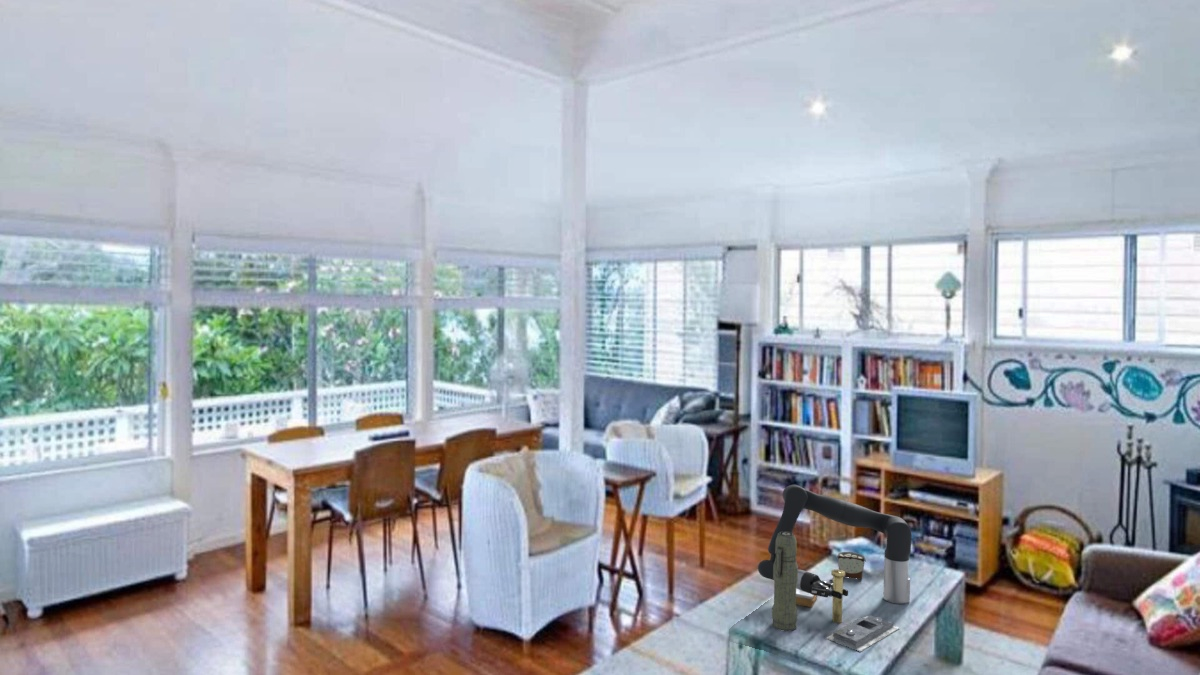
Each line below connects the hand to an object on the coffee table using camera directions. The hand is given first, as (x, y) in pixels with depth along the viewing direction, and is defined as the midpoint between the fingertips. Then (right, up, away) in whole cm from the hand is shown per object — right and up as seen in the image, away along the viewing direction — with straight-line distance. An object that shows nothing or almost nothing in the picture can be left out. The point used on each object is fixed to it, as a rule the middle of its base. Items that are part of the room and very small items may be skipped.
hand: (844, 594), depth 274 cm
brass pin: (-2, -11, +3) cm, 11 cm away
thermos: (-23, -11, -2) cm, 26 cm away
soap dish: (-9, -10, +21) cm, 25 cm away
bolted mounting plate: (+4, -11, -8) cm, 15 cm away
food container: (+19, -9, +48) cm, 53 cm away
